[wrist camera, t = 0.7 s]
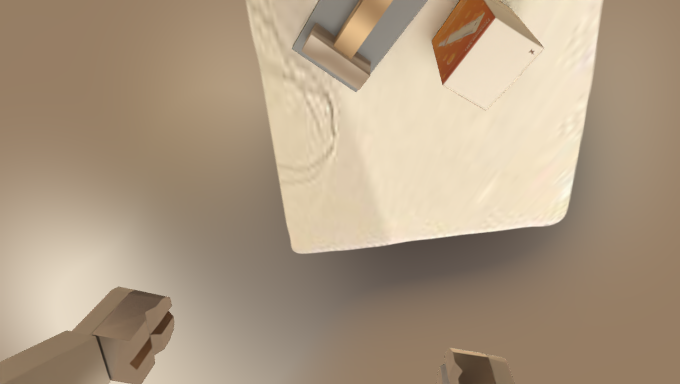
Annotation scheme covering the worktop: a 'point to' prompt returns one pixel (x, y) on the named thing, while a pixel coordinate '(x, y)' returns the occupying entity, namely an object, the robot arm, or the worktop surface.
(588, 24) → the worktop surface
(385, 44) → the mat
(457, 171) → the worktop surface
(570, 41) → the worktop surface
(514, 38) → the small box
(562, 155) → the worktop surface
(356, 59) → the wooden t-shaped stand
